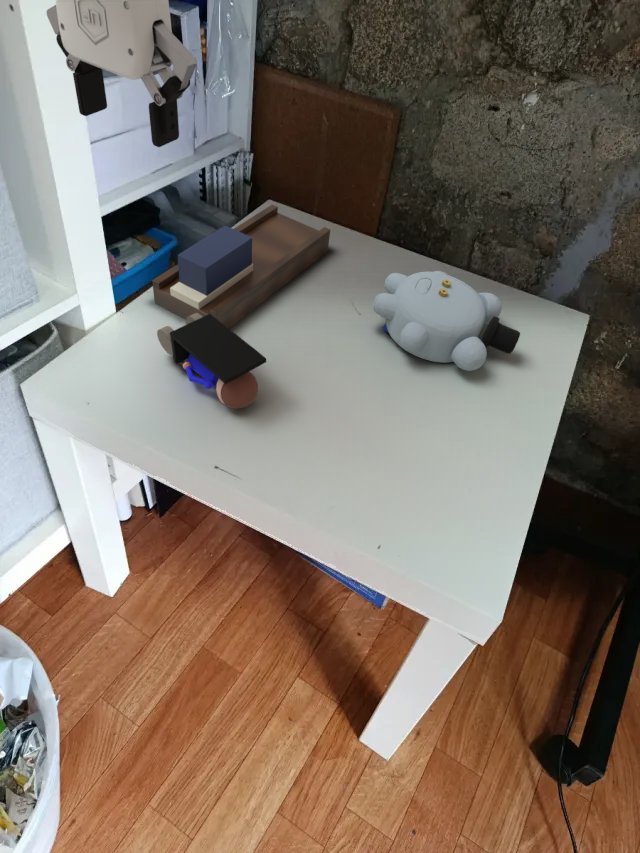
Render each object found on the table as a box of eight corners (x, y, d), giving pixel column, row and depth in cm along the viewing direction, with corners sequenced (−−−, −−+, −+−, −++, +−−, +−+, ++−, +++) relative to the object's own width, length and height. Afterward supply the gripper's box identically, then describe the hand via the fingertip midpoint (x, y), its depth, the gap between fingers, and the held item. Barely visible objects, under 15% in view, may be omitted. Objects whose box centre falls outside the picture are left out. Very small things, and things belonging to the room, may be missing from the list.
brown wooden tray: (217, 337, 87) (217, 313, 84) (154, 303, 90) (151, 280, 87) (327, 251, 104) (330, 229, 101) (271, 226, 107) (272, 204, 104)
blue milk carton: (198, 309, 86) (197, 275, 82) (170, 295, 87) (167, 260, 83) (253, 270, 93) (253, 237, 89) (226, 257, 95) (225, 224, 90)
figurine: (352, 349, 87) (490, 407, 85) (368, 300, 81) (517, 361, 79) (389, 283, 99) (511, 333, 97) (405, 236, 92) (536, 288, 90)
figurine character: (158, 368, 84) (228, 425, 76) (148, 319, 78) (223, 375, 71) (200, 348, 87) (271, 401, 79) (193, 300, 82) (269, 351, 74)
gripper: (-9, -107, 52) (38, 111, 64) (151, -60, 47) (169, 168, 59) (63, -114, 56) (95, 91, 69) (217, -71, 51) (220, 142, 64)
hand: (129, 126), depth 64 cm, fingers open, 9 cm apart
